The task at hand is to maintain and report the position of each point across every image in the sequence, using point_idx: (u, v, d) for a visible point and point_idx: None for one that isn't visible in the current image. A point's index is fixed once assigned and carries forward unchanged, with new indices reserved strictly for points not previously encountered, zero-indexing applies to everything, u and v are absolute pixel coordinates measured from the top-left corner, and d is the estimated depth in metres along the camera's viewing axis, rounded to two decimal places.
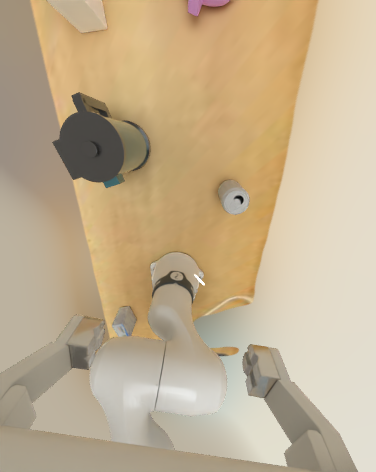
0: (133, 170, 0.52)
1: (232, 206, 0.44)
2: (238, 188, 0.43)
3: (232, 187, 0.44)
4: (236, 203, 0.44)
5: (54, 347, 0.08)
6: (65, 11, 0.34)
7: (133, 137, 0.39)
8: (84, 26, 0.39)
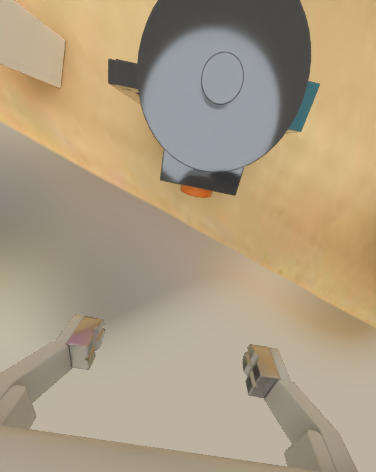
0: None
1: None
2: None
3: None
4: None
5: (54, 347, 0.08)
6: (20, 58, 0.22)
7: None
8: (52, 68, 0.26)
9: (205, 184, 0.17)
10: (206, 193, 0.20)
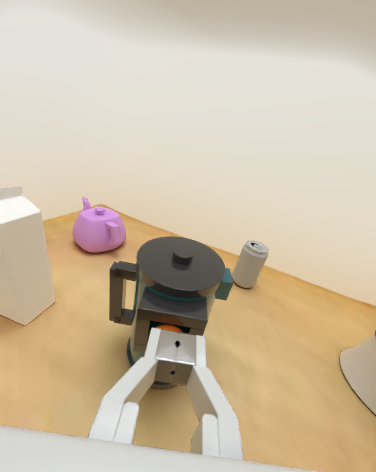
0: None
1: (260, 249, 0.48)
2: (244, 245, 0.50)
3: (242, 250, 0.49)
4: (258, 246, 0.48)
5: (146, 362, 0.08)
6: (24, 287, 0.30)
7: None
8: (34, 308, 0.32)
9: (179, 311, 0.19)
10: None
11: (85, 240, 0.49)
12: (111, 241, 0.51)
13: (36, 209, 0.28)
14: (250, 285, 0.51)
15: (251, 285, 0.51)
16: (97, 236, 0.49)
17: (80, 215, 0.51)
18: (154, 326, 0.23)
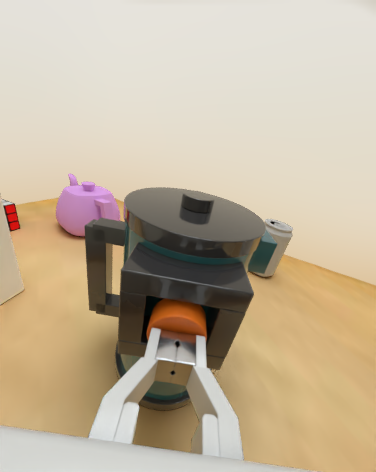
0: None
1: None
2: None
3: None
4: (279, 225, 0.40)
5: (146, 362, 0.08)
6: None
7: None
8: None
9: (199, 278, 0.10)
10: (199, 318, 0.11)
11: (69, 219, 0.40)
12: None
13: None
14: (270, 273, 0.42)
15: (271, 273, 0.42)
16: (84, 215, 0.41)
17: (64, 190, 0.42)
18: None
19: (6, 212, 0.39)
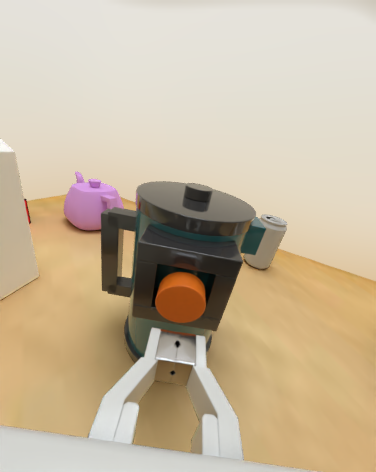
0: (211, 336, 0.26)
1: (278, 222, 0.42)
2: None
3: None
4: (275, 219, 0.42)
5: (146, 362, 0.08)
6: None
7: None
8: (9, 280, 0.26)
9: (200, 249, 0.13)
10: (199, 288, 0.13)
11: (77, 214, 0.43)
12: None
13: (8, 148, 0.22)
14: (266, 265, 0.45)
15: (267, 265, 0.45)
16: (91, 210, 0.43)
17: (72, 187, 0.45)
18: None
19: None
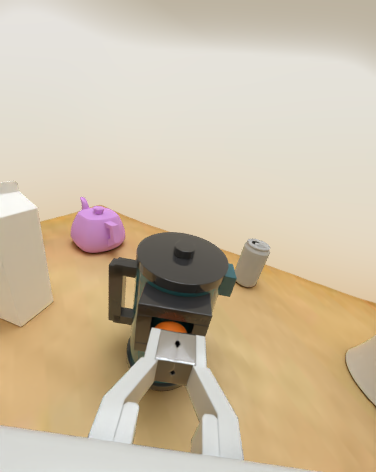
0: None
1: (262, 247, 0.47)
2: (245, 243, 0.49)
3: (243, 248, 0.49)
4: (259, 244, 0.48)
5: (146, 362, 0.08)
6: (20, 287, 0.29)
7: None
8: (30, 309, 0.31)
9: (182, 307, 0.18)
10: None
11: (83, 239, 0.48)
12: (110, 241, 0.50)
13: (32, 205, 0.27)
14: (252, 284, 0.50)
15: (253, 284, 0.50)
16: (95, 236, 0.49)
17: (78, 214, 0.50)
18: (155, 324, 0.22)
19: None
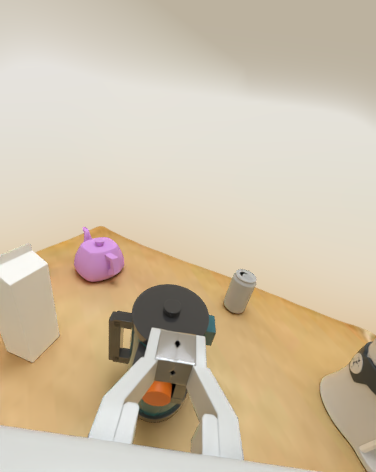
0: None
1: (249, 278, 0.51)
2: (234, 274, 0.54)
3: (232, 279, 0.53)
4: (246, 276, 0.52)
5: (146, 362, 0.08)
6: (32, 330, 0.33)
7: None
8: (40, 346, 0.36)
9: None
10: (167, 390, 0.22)
11: (86, 271, 0.53)
12: (110, 271, 0.54)
13: (43, 262, 0.32)
14: (240, 311, 0.54)
15: (241, 311, 0.54)
16: (97, 267, 0.53)
17: (81, 247, 0.54)
18: None
19: None
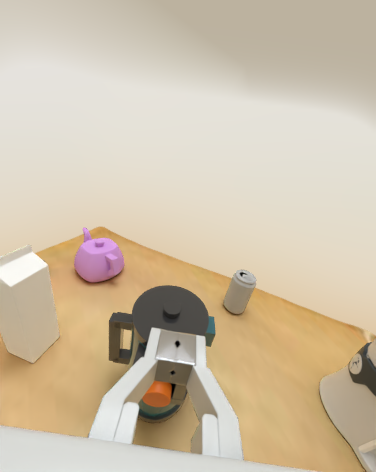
0: None
1: (249, 279, 0.52)
2: (234, 274, 0.54)
3: (232, 279, 0.53)
4: (246, 276, 0.52)
5: (146, 362, 0.08)
6: (33, 331, 0.33)
7: None
8: (41, 347, 0.36)
9: None
10: (167, 391, 0.22)
11: (86, 271, 0.53)
12: (110, 272, 0.54)
13: (44, 263, 0.32)
14: (240, 311, 0.54)
15: (241, 311, 0.55)
16: (97, 268, 0.53)
17: (81, 248, 0.55)
18: None
19: None
